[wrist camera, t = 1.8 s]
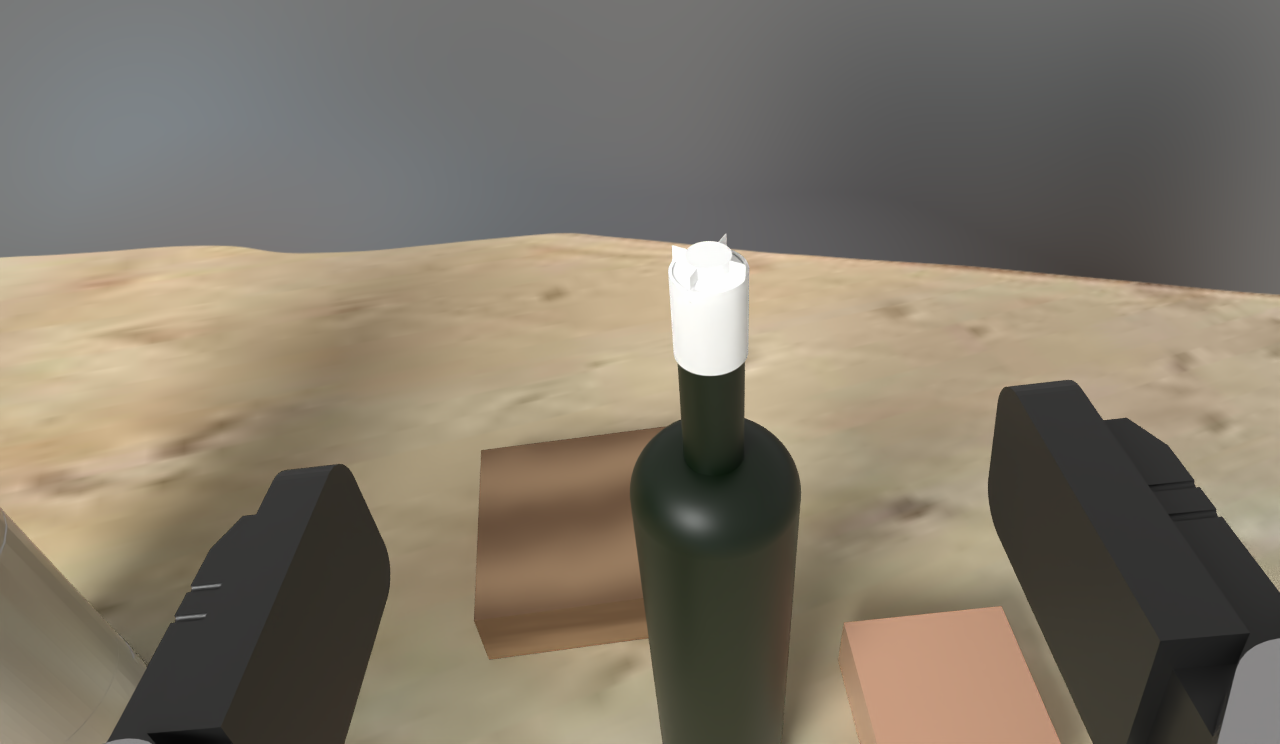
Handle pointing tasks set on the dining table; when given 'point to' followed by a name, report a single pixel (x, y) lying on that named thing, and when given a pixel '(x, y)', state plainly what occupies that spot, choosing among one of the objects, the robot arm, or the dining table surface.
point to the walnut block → (558, 545)
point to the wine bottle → (716, 524)
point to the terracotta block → (941, 681)
